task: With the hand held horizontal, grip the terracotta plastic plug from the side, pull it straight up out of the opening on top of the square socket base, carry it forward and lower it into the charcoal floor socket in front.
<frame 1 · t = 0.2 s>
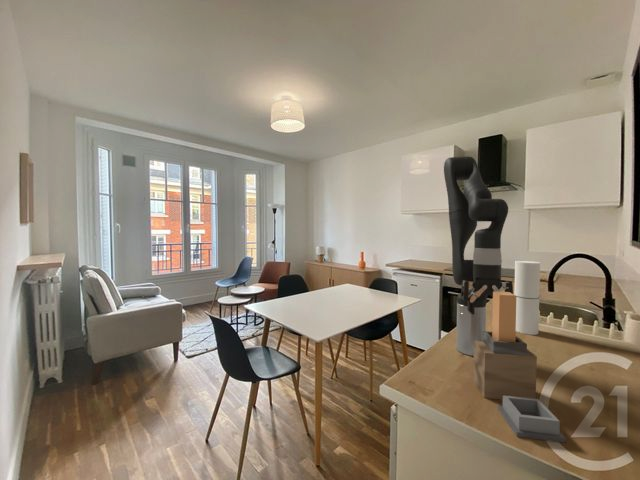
hand: (486, 314, 85), 18 cm above the counter, tool pointing down, fingers open, 8 cm apart
container: (525, 331, 118), on the counter
square socket base: (502, 391, 75), on the counter
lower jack: (528, 424, 62), on the counter
plug: (503, 348, 74), point 12 cm above the counter, touching square socket base
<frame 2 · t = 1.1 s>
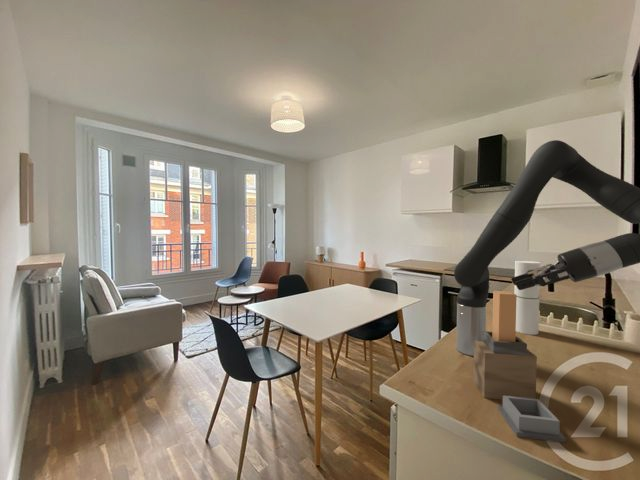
hand: (514, 284, 74), 29 cm above the counter, tool tilted 65°, fingers open, 8 cm apart
nothing on the counter moved.
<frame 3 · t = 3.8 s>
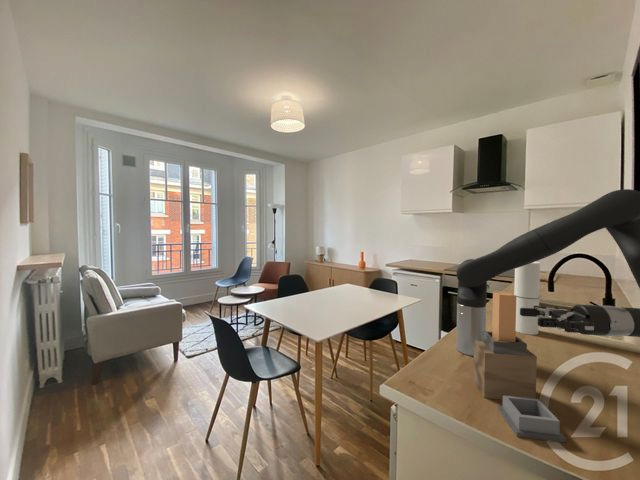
hand: (529, 316, 73), 21 cm above the counter, tool horizontal, fingers open, 8 cm apart
nothing on the counter moved.
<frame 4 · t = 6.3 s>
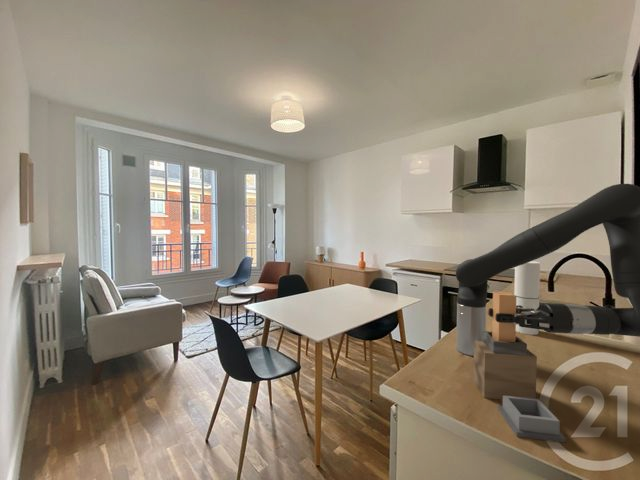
hand: (492, 314, 74), 21 cm above the counter, tool horizontal, fingers closed on plug, 4 cm apart
plug: (503, 348, 74), point 12 cm above the counter, touching gripper, square socket base
everything else where it was.
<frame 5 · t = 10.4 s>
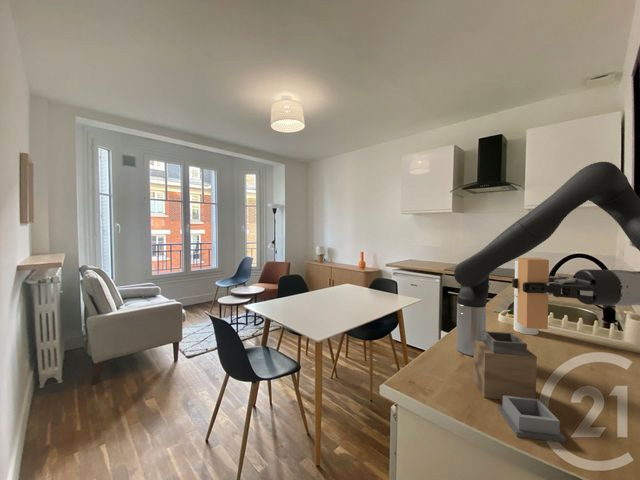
hand: (518, 285, 61), 32 cm above the counter, tool horizontal, fingers closed on plug, 4 cm apart
plug: (531, 325, 61), point 23 cm above the counter, touching gripper
everything else where it was.
when the fingers open (11 cm above the counter, at t = 14.7 s): plug drops 1 cm, resting on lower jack.
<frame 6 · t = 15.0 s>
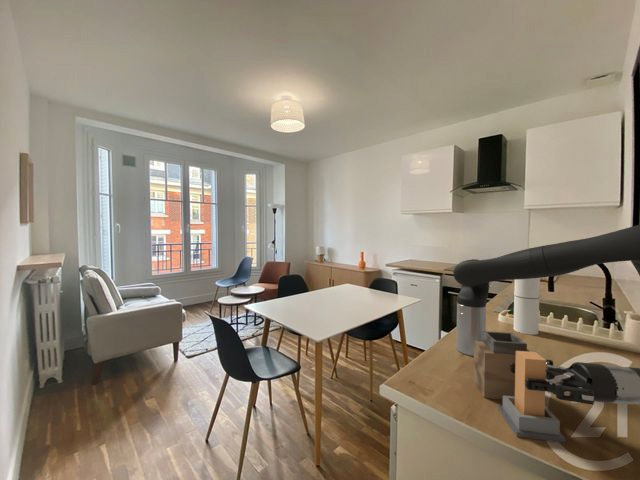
hand: (518, 375, 62), 11 cm above the counter, tool horizontal, fingers open, 6 cm apart
plug: (528, 419, 62), point 1 cm above the counter, touching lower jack
everything else where it was.
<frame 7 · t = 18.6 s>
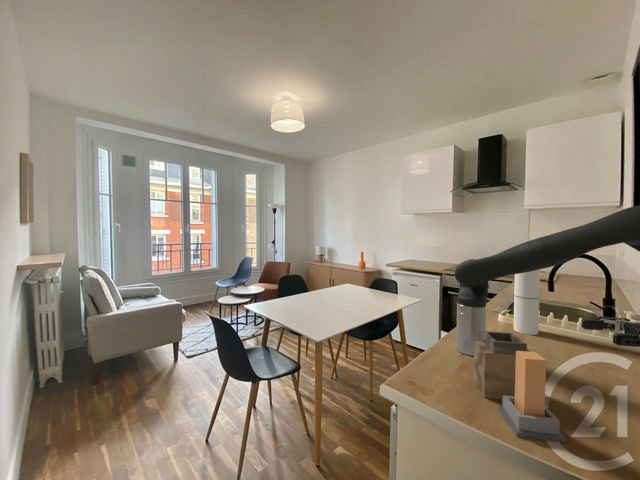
hand: (597, 331, 59), 22 cm above the counter, tool horizontal, fingers open, 8 cm apart
nothing on the counter moved.
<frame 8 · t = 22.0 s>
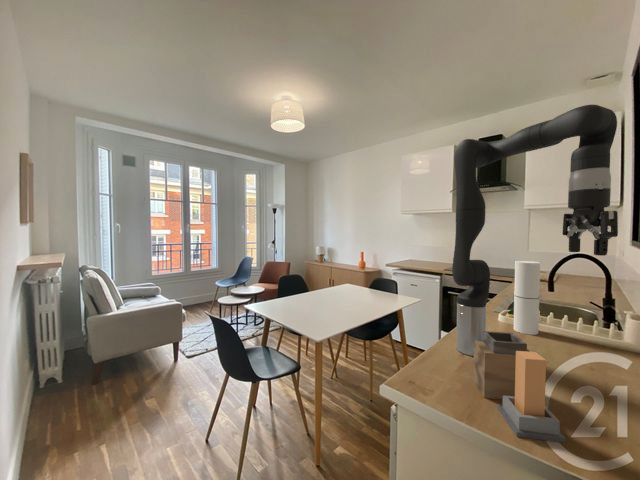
hand: (586, 253, 69), 38 cm above the counter, tool pointing down, fingers open, 8 cm apart
nothing on the counter moved.
at the end: plug 0.1 cm off-centre on the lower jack, point 1.0 cm above the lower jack's base; plug tilted 0°; the gripper is holding nothing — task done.
